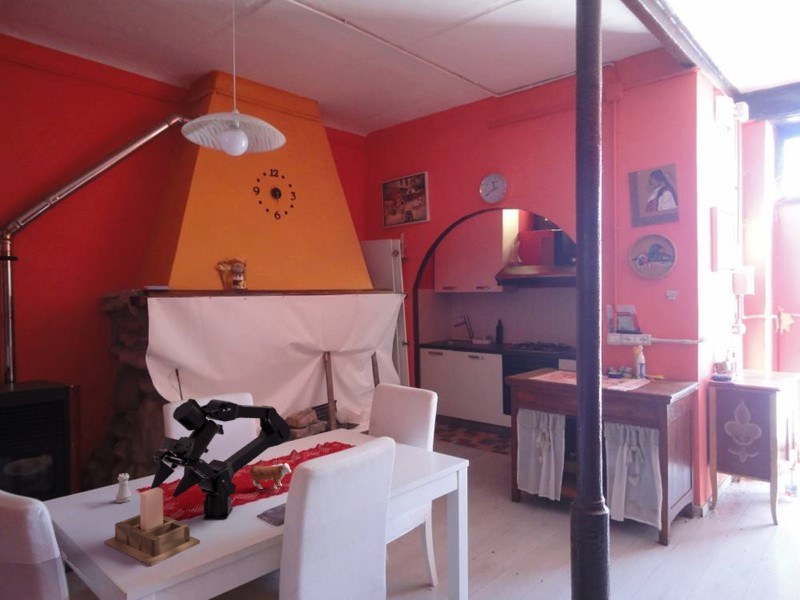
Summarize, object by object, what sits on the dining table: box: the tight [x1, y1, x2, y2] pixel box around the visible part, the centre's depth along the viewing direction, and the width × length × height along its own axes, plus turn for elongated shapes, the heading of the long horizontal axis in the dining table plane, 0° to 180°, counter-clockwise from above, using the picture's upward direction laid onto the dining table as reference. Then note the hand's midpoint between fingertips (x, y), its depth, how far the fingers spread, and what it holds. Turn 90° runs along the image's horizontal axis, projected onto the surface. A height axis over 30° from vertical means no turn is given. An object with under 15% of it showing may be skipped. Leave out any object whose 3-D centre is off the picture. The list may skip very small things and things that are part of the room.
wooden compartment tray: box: [104, 514, 201, 567], centre depth 132 cm, size 13×20×5 cm, turn 58°
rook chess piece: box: [115, 472, 133, 504], centre depth 159 cm, size 4×4×8 cm
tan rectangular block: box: [139, 487, 164, 531], centre depth 132 cm, size 4×2×12 cm, turn 147°
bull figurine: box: [249, 462, 292, 490], centre depth 169 cm, size 4×13×8 cm, turn 89°
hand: (162, 493), depth 134 cm, fingers open, 9 cm apart
